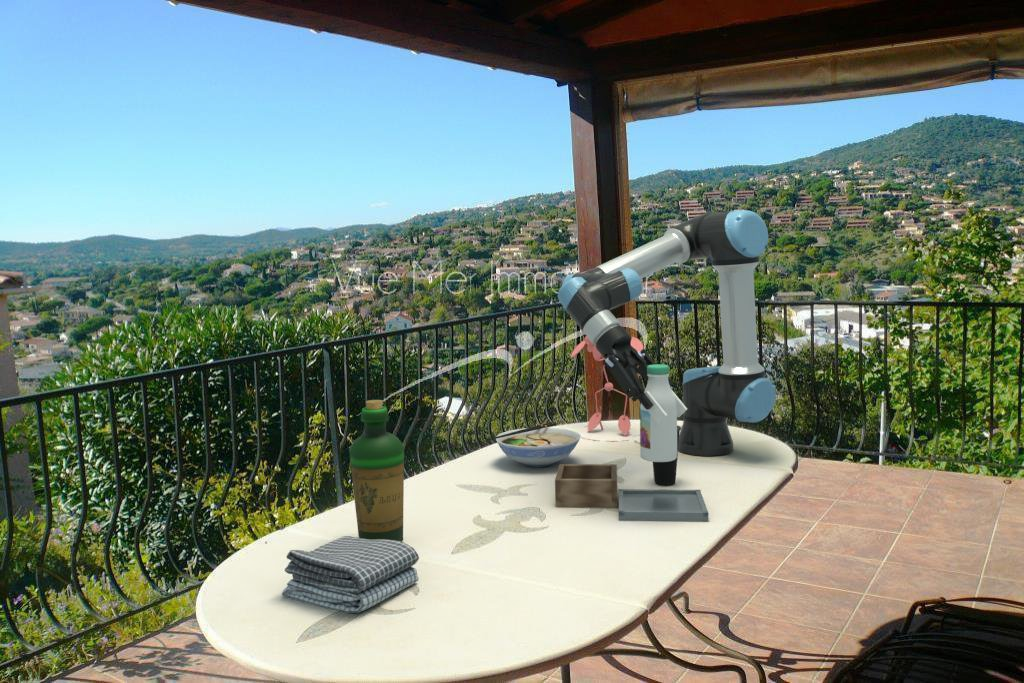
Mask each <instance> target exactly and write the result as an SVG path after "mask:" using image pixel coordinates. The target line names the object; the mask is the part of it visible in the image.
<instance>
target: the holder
mask: <svg viewBox="0 0 1024 683" xmlns="http://www.w3.org/2000/svg"><path fill="white" fill-rule="evenodd" d="M617 466H618V465H617V464H614V463H613V464H605V463H604V464H603V463H602V464H600V463H599V464H597V463H595V464H593V463H592V464H591V463H590V464H587V463H586V464H583V463H582V464H581V463H578V464H577V463H570V464H569V463H568V464H567V463H566V464H565V463H559V465H558V468H557V471H556V476H555V478H554V493H555V494H554V496H555V508H602V509H603V508H606V509H608V508H609V509H610V508H613V509H614V508H617V509H618V467H617Z"/></svg>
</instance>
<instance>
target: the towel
mask: <svg viewBox="0 0 1024 683" xmlns="http://www.w3.org/2000/svg"><path fill="white" fill-rule="evenodd" d="M286 559H287V560H289V562H288V564H287V565H286V567H285V568H284V572H285V573H286V574H289V575H292V579H289V581H288V582H287V583H286V585H287V586H285V588H284V589H283V590H282V592H281V596H283V598H286V599H289V600H293V601H294V600H295V601H297V602H301V603H305V604H309V605H314V606H317V607H321V608H324V609H329V610H332V611H337V612H342V613H345V614H357V613H361V612H363V611H366V610H367V609H369V608H372V607H374V606H376V605H378V604H379V603H381V602H383V601H385V600H386V599H388V598H390V597H392V596H394V595H396V594H398V593H399V592H401V591H403V590H405V589H406V588H409V587H411V586H413V584H415V583H417V582H418V581H419V575H418V571H417V568H416V567H413V566H414V565H416V564H417V562H418V561H419V559H420V556H419V554H418V553H417V551H416V549H415V548H414V547H412V546H410V545H409V544H407V543H405V542H404V541H402V542H400V541H397V540H396V541H395V540H387V539H386V540H385V539H376V540H375V539H371V540H370V539H364V538H359V537H356V536H355V537H354V536H350V535H345V536H342V537H340V538H337V539H334V540H332V541H329V542H328V543H325V544H323V545H320V546H319V547H317V548H315V549H313V550H311V551H305V550H299V549H291V550H289V552H288V553H287V555H286Z"/></svg>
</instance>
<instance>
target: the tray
mask: <svg viewBox="0 0 1024 683" xmlns="http://www.w3.org/2000/svg"><path fill="white" fill-rule="evenodd" d="M705 502H706V501H705V500H704V497H703V494H702V491H701V489H667V488H666V489H654V488H653V489H651V488H650V489H649V488H647V489H646V488H645V489H644V488H643V489H640V488H639V489H633V488H625V489H624V488H618V521H635V522H636V521H643V522H646V521H647V522H709V510H708V508H707V506H706V503H705Z"/></svg>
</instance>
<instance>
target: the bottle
mask: <svg viewBox="0 0 1024 683" xmlns="http://www.w3.org/2000/svg"><path fill="white" fill-rule="evenodd" d="M383 401H384V400H382V399H370V400H369V399H368V400H366V401H365V407H362V409H361V417H360V422H363V426H364V433H363V434H361V435H359V437H357V438H355V440H353V441H352V443H351V444H350V447H349V448H348V453H349V461H350V471H351V480H352V481H351V482H352V490H353V496H354V507H355V508H354V509H355V516H356V524H357V533H358V534H357V535H358V538H364V539H370V540H371V539H375V540H376V539H385V540H386V539H387V540H395V541H396V540H397V541H400V542H404V494H405V493H404V492H405V491H404V490H405V486H404V484H405V483H404V482H405V481H404V480H405V475H404V474H405V469H404V468H405V447H404V444H403V443H402V441H401V440H400V439H399V438H398V437H397V436H396V435H395V434H393V433H391V432H389V431H387V421H388V420H390V417H389V413H388V408H387V406H384V405H383V403H384V402H383Z"/></svg>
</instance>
